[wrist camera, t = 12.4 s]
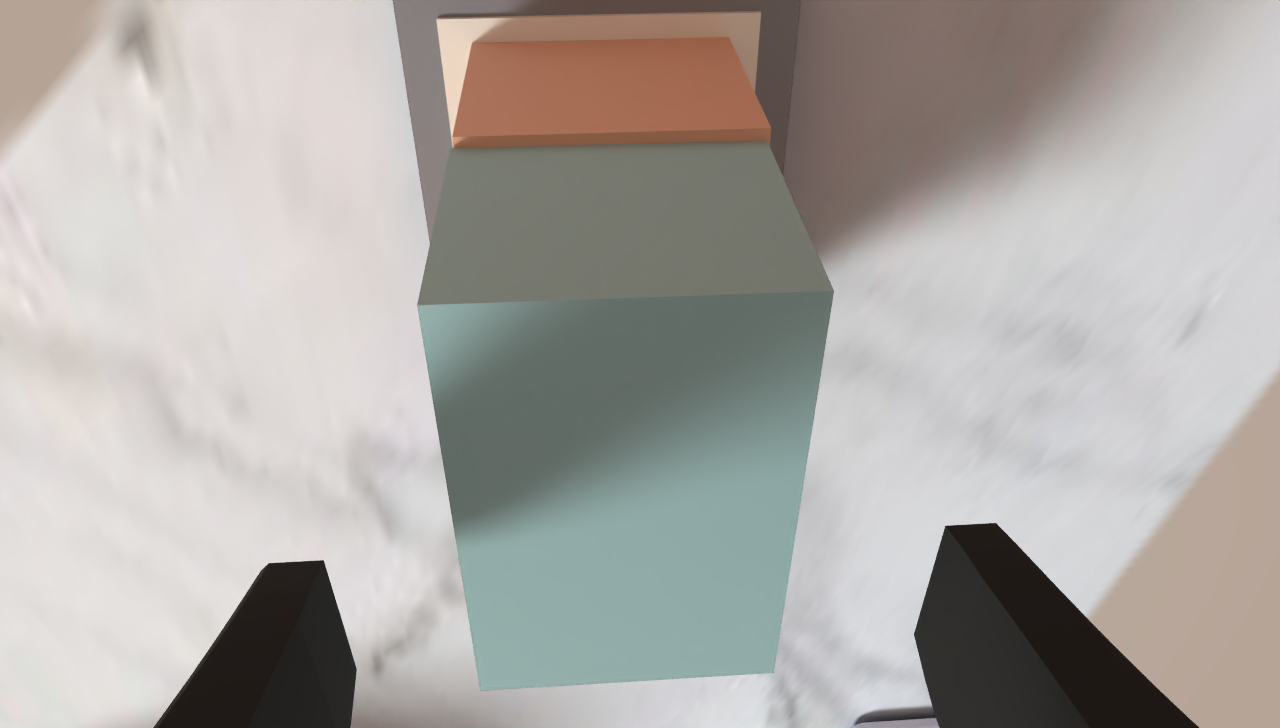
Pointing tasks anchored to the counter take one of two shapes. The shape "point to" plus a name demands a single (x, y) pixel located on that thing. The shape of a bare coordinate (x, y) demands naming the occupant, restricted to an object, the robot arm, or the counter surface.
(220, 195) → the counter surface
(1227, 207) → the counter surface
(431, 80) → the baseplate
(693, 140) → the terracotta brick
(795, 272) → the teal brick
